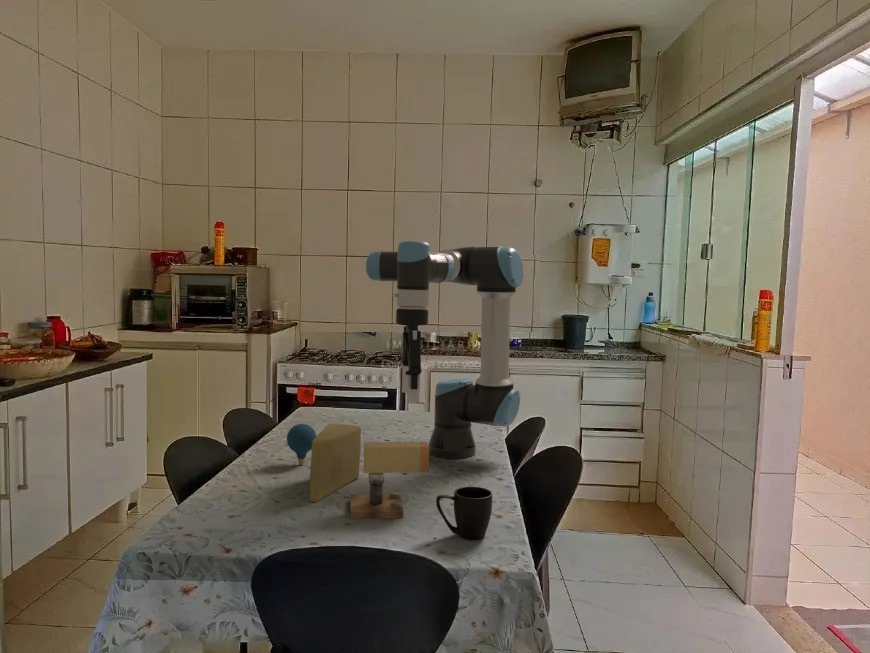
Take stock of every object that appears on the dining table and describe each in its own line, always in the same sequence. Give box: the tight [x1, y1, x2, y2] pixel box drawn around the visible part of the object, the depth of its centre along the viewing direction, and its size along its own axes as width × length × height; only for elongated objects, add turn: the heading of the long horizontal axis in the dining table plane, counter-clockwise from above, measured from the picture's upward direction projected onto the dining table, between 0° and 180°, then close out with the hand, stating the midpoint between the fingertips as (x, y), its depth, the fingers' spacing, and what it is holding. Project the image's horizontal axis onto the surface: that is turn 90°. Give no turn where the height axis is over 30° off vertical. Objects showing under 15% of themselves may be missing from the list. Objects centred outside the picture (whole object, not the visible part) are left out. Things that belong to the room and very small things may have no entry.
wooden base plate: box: [349, 483, 404, 520], centre depth 155 cm, size 12×12×6 cm
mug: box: [435, 486, 493, 542], centre depth 141 cm, size 8×12×10 cm
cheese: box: [309, 423, 362, 503], centre depth 169 cm, size 22×10×15 cm, turn 168°
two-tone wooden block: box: [363, 441, 430, 485], centre depth 155 cm, size 15×5×9 cm, turn 97°
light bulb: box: [286, 423, 317, 466], centre depth 189 cm, size 8×8×12 cm
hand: (410, 397), depth 155 cm, fingers open, 13 cm apart
